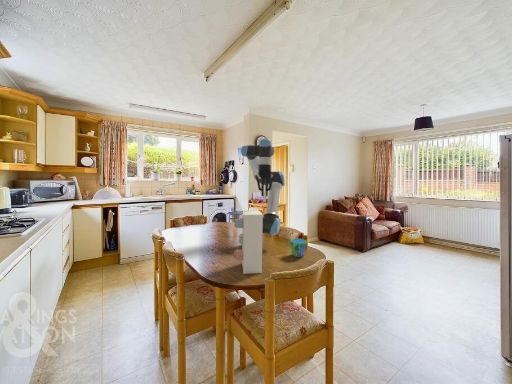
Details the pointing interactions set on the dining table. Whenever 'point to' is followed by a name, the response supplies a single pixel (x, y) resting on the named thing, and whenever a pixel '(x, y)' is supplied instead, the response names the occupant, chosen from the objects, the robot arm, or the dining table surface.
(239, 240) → the sage button
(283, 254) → the dining table surface
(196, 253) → the dining table surface
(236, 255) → the terracotta button
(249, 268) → the button pillar
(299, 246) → the snack cup
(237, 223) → the slate button
